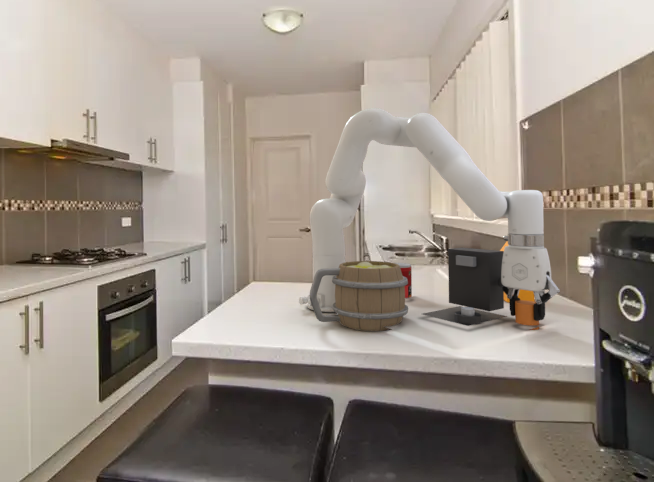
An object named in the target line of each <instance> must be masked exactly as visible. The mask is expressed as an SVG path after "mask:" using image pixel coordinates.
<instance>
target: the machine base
mask: <svg viewBox="0 0 654 482" xmlns="http://www.w3.org/2000/svg"><path fill="white" fill-rule="evenodd" d="M462 307H463V306H462V305H458V306H453V307H448V308H443V309H438V310H433V311H429V312H423V313H422V315H423V316H427V317H431V318H435V319H439V320H444V321H447V322H451V323H454V324H459V325H463V326H467V327H470V326H474V325H480V324H482V323H486V322H491V321H495V320H499V319H503V318H507V317H508V316H507V315H504V314H499V313H494V312H491V311H485V310H481V309H476V308H474V309H475V315H474V316H467V315H462V314H461V308H462Z"/></svg>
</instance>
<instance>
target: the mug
mask: <svg viewBox="0 0 654 482" xmlns="http://www.w3.org/2000/svg"><path fill="white" fill-rule="evenodd" d="M395 263H396V262H390V261H379V260H378V261H377V260H356V261H346V262H345V263H341V264H340V265H339V268H331V269H320V270H318V271H317V272H316V274H315V277H314V280H313V279H312V283H311V285H310V290H309V295H308V296H310V301H311V304H312V307H313V310H312V311H313V313H314V315H315V317H316V319H317V320H318V322H321V323H328V322H329V323H330V322H339V323H340V325H342V326H344V327H346V328H348V329H351V330H356V331H363V332H386V331H391V330H393V329H392V328H390V327H392V326H396V325H399V324H400V323H401V322H402V320H403V317H404V316H406V315H407V314H408V313H409V306H408V305H407V304H406V298H405V285H407V284H408V280H407V278H406V277H404V276H403V275H402V272H401V269H400V266H399V265H398V264H395ZM326 275H335V276H333V278H332V282H333V283H334V284H335V303H333V305H332V308H333V310H332V311H334V312H333V313H335V314H323V312H321V309H320V306H319V303H318V300H317V292H318V288H319V285H320V282H321V279H322V277H323V276H326Z"/></svg>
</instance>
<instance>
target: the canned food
mask: <svg viewBox="0 0 654 482" xmlns="http://www.w3.org/2000/svg"><path fill="white" fill-rule="evenodd" d="M394 263H395V264H398V265H399V266H400V269H401V272H402V275H403V276H404V277H406V278H407V280H408V284H407V285H405V299H409V298H412V296H413V295H412V293H413V292H412V291H413V288H412V287H413V284H412V283H413V282H412V281H413V280H412V279H413V278H412V277H413V275H412V264H411V263H408V262H407V263H406V262H394Z"/></svg>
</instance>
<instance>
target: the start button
mask: <svg viewBox="0 0 654 482" xmlns="http://www.w3.org/2000/svg"><path fill="white" fill-rule="evenodd" d="M475 309H476V308H472V307H466V306H462V308H461V314H462V315H467V316H474V315H475Z"/></svg>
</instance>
